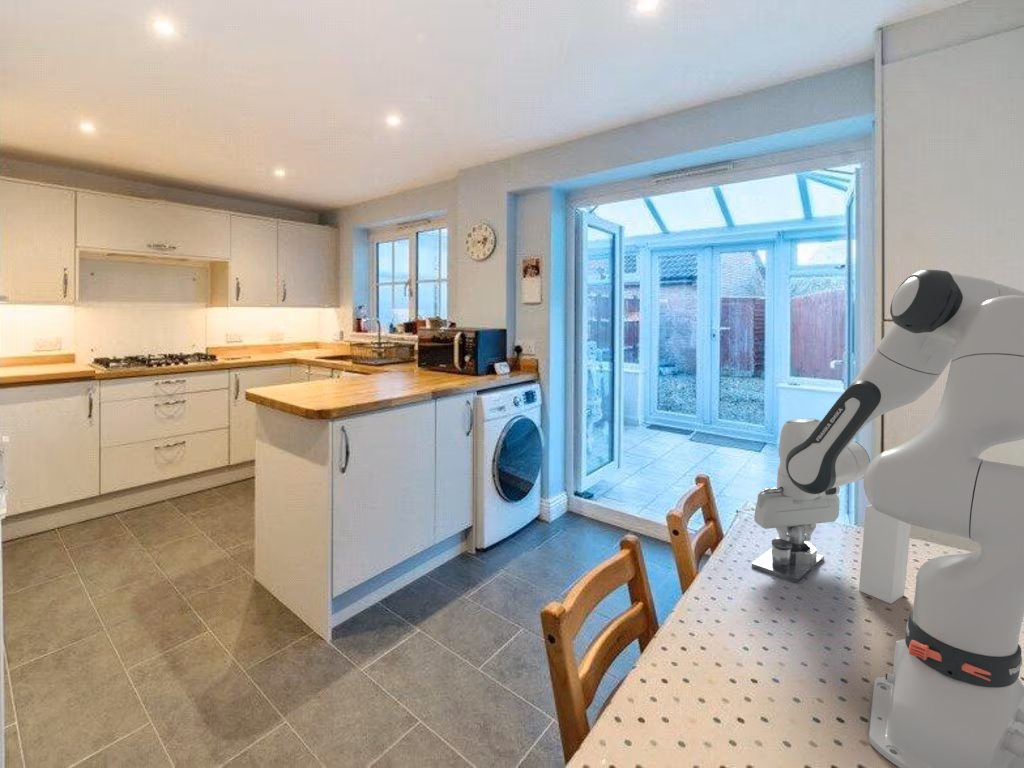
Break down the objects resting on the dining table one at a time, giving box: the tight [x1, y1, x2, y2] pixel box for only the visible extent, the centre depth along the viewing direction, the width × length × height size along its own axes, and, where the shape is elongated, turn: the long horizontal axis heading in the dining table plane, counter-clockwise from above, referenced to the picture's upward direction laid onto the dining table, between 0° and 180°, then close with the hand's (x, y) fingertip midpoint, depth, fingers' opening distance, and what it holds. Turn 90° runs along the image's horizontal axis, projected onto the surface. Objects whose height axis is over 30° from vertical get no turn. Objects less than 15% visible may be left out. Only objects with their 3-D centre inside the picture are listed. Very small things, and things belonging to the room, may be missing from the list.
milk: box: [858, 504, 912, 605], centre depth 103 cm, size 6×6×22 cm
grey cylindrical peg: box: [784, 525, 806, 552], centre depth 119 cm, size 4×4×7 cm
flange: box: [751, 537, 825, 585], centre depth 117 cm, size 16×10×7 cm, turn 130°
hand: (794, 541), depth 119 cm, fingers closed on grey cylindrical peg, 4 cm apart
